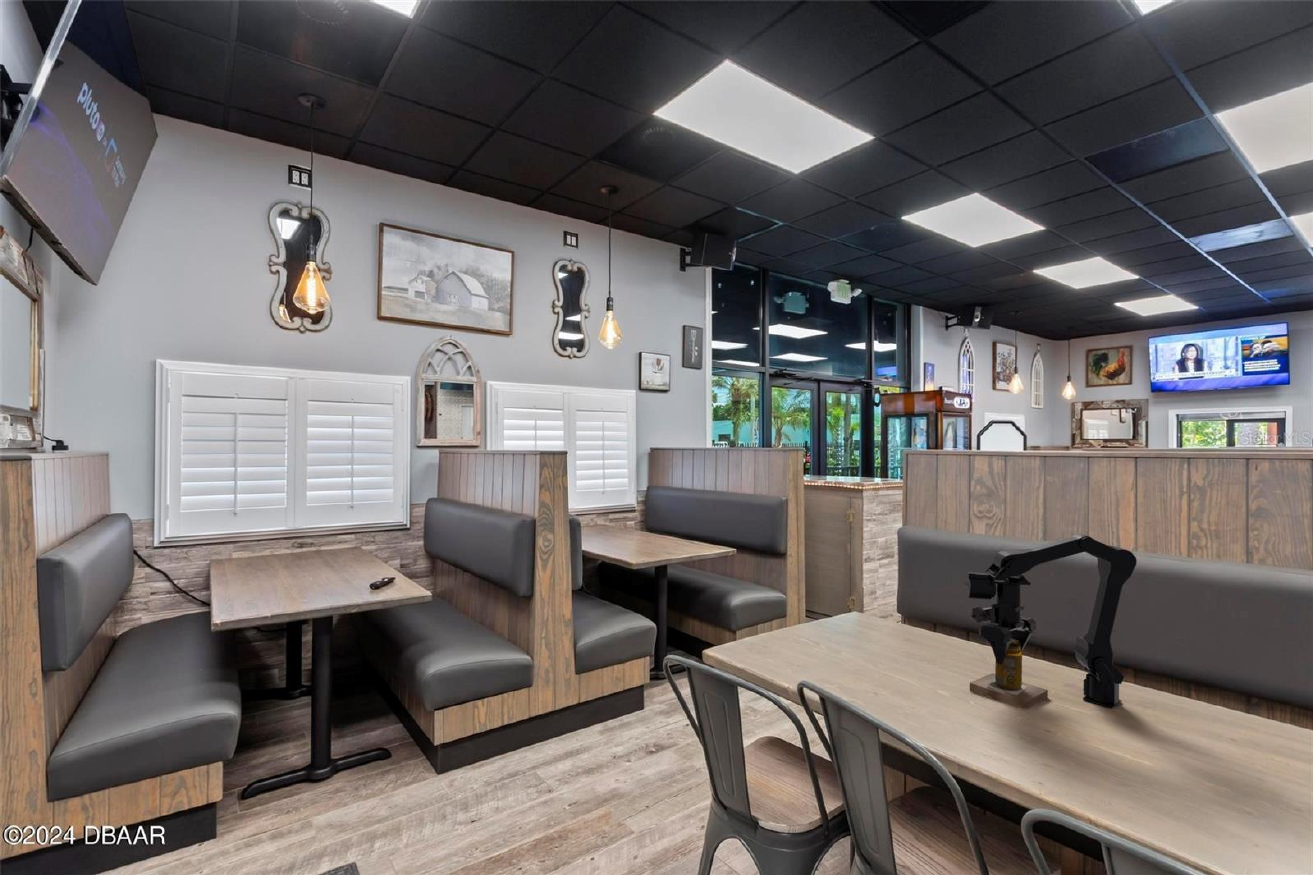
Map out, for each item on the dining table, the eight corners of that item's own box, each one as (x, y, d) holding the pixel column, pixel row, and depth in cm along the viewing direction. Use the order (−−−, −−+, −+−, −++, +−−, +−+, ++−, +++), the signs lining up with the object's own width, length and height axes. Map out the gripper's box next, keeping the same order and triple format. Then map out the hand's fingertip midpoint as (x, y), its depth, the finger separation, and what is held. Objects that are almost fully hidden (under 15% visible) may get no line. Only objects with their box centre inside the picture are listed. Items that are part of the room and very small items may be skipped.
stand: (1047, 697, 159) (1047, 689, 159) (1026, 709, 152) (1026, 701, 152) (992, 680, 171) (992, 673, 171) (969, 690, 164) (969, 682, 164)
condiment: (1027, 686, 161) (1027, 640, 161) (1017, 695, 155) (1017, 648, 156) (996, 678, 167) (997, 634, 167) (985, 687, 161) (986, 641, 161)
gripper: (994, 589, 174) (993, 645, 174) (959, 598, 163) (958, 658, 163) (1037, 598, 165) (1036, 656, 165) (1003, 608, 154) (1002, 671, 154)
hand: (1008, 660), depth 162 cm, fingers open, 9 cm apart
